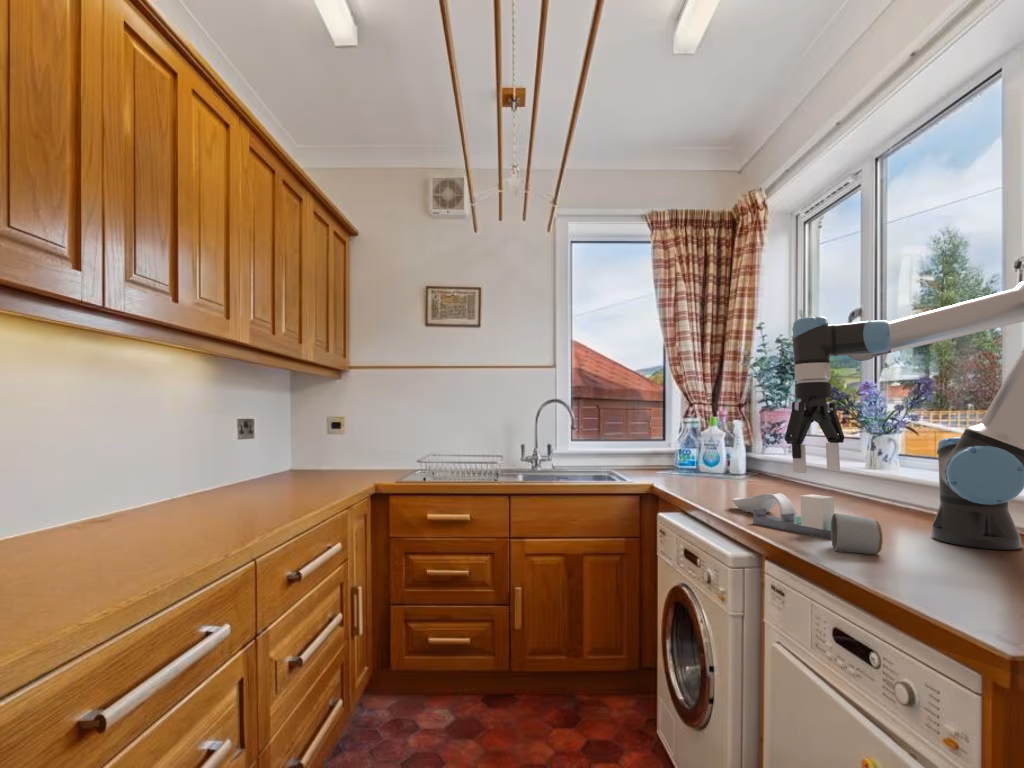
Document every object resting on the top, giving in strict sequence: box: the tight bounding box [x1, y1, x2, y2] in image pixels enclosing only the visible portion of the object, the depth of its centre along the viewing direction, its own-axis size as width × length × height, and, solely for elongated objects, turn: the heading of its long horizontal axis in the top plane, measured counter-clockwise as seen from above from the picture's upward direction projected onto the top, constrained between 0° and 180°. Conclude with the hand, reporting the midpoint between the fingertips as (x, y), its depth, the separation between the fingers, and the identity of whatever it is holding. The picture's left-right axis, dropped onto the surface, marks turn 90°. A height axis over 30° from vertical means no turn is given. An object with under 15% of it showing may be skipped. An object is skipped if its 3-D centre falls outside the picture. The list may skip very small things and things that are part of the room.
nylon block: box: [800, 493, 835, 529], centre depth 125 cm, size 5×5×7 cm
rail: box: [752, 508, 831, 540], centre depth 130 cm, size 20×4×4 cm, turn 29°
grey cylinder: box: [831, 512, 884, 555], centre depth 111 cm, size 11×8×8 cm
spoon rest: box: [731, 492, 798, 518], centre depth 150 cm, size 24×12×7 cm, turn 5°
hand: (817, 471), depth 126 cm, fingers open, 13 cm apart
